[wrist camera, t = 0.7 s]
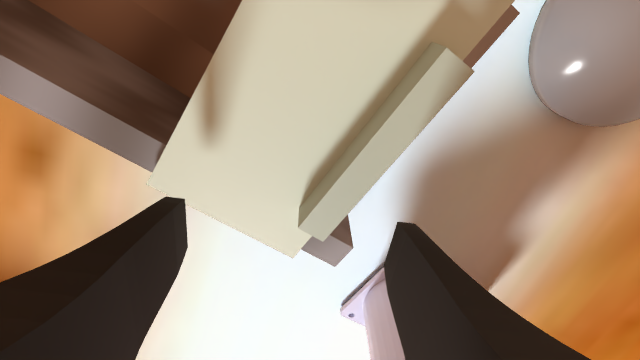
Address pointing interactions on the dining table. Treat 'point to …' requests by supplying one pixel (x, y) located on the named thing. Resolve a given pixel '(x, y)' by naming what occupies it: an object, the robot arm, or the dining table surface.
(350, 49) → the sliding lid
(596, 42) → the saucer
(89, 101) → the puzzle board
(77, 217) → the dining table surface
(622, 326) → the dining table surface
